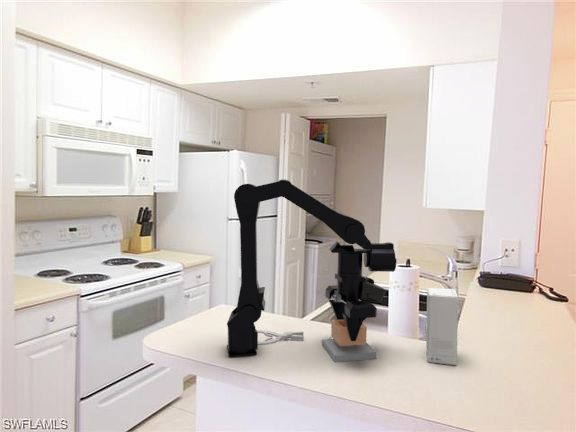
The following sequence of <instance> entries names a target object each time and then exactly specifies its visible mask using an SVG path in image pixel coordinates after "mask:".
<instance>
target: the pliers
mask: <svg viewBox="0 0 576 432" xmlns="http://www.w3.org/2000/svg"><path fill="white" fill-rule="evenodd" d="M256 330H257V332H258V334H264V335H265V336H266V337H269V338H265V339H264V340H261V341H258V346H265V345H266V346H267V345H272V344H275V343H279V342H284V341H290V342H292V341H294V342H296V341H297V342H298V341H299V342H304V340H305V339H304V338H305V336H304V331H301V330H300V331H299V330H297V331H284V332H283V333H278V332H276V331H271V330H263V329H256ZM273 337H276V338H273Z"/></svg>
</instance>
